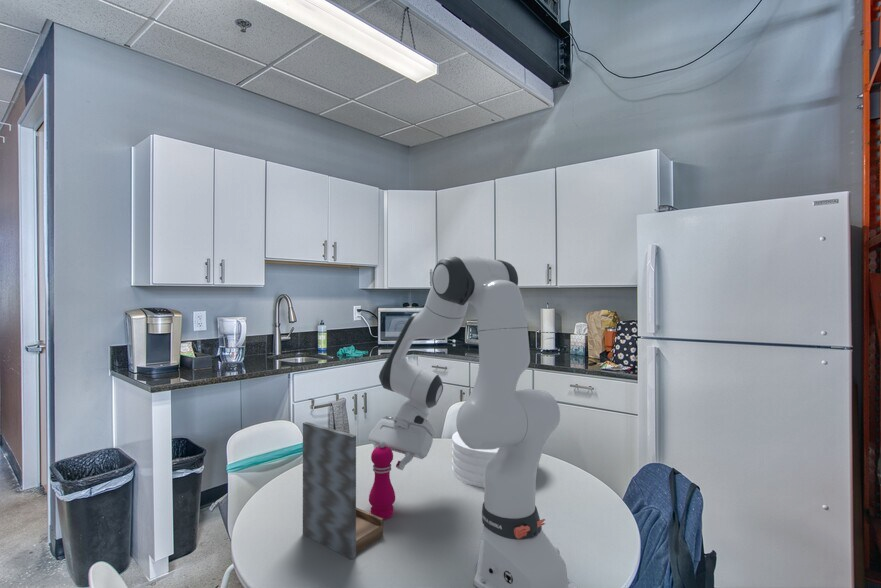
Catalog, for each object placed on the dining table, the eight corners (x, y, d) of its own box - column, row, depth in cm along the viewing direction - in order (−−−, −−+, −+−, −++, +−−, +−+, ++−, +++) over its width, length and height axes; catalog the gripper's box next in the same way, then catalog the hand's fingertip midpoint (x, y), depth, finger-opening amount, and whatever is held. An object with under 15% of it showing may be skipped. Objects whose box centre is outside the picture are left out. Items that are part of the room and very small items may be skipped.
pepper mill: (363, 517, 120) (363, 443, 120) (377, 505, 127) (377, 435, 127) (387, 522, 118) (387, 447, 118) (399, 510, 125) (399, 439, 124)
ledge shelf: (385, 537, 111) (386, 425, 111) (352, 559, 102) (352, 436, 101) (337, 516, 121) (337, 413, 121) (302, 534, 112) (302, 423, 112)
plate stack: (487, 497, 133) (487, 458, 133) (436, 466, 157) (436, 433, 156) (552, 476, 148) (552, 441, 148) (497, 451, 172) (497, 421, 172)
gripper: (378, 409, 136) (354, 450, 128) (431, 421, 124) (408, 467, 116) (388, 420, 140) (365, 461, 132) (441, 433, 127) (419, 479, 120)
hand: (386, 464), depth 124 cm, fingers open, 8 cm apart
